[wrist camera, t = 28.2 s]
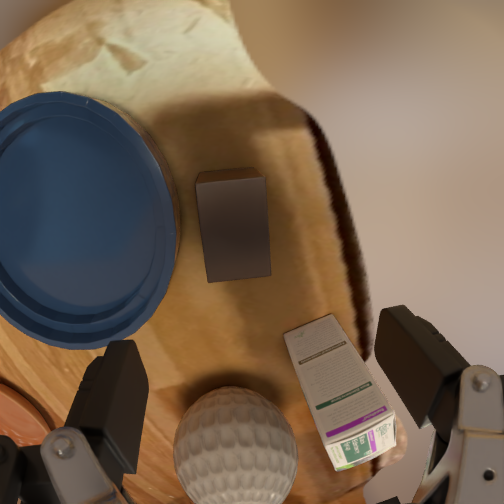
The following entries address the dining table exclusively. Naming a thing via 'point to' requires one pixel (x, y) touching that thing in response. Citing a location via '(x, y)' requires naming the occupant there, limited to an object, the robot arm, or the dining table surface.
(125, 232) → the glazed bowl
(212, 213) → the dark brown block
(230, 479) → the vase
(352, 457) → the syrup box
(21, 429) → the saucer
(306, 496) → the dining table surface
